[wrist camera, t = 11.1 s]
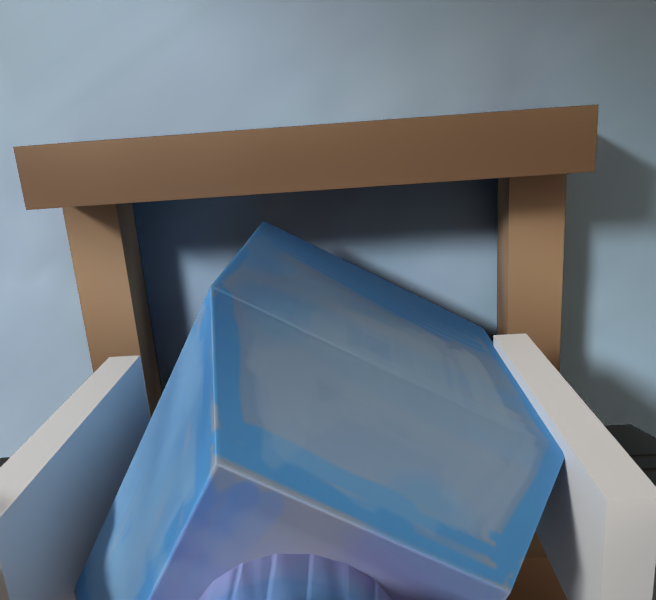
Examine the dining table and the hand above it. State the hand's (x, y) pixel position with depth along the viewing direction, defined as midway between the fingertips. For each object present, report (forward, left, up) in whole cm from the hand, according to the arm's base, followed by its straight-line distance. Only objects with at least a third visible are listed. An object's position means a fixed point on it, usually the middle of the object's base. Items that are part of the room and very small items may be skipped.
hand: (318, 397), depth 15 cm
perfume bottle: (0, 0, -2) cm, 2 cm away
